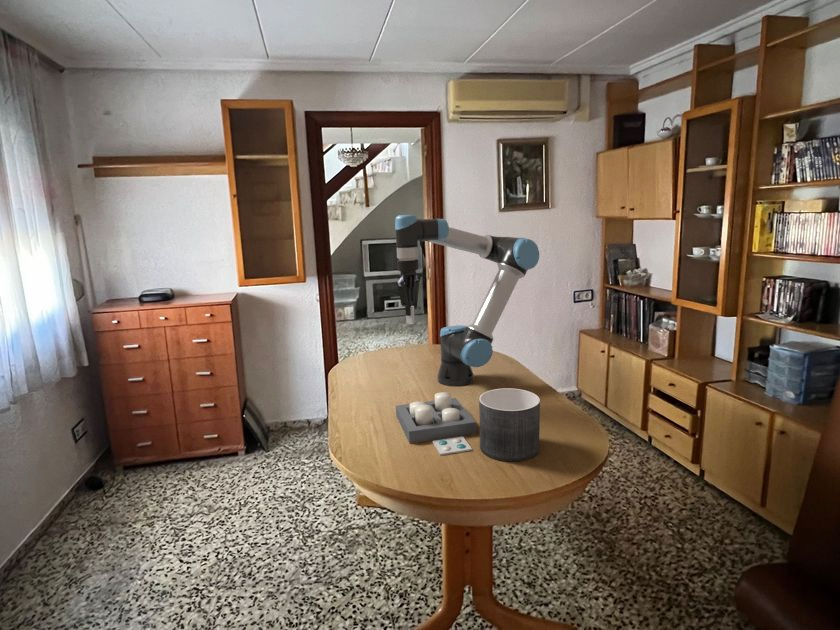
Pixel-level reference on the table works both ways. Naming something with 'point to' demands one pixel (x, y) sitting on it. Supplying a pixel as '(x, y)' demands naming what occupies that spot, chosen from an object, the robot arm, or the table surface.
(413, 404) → the button
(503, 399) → the planter
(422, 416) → the button
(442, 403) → the button
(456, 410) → the button
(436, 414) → the board
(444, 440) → the card
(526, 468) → the table surface
